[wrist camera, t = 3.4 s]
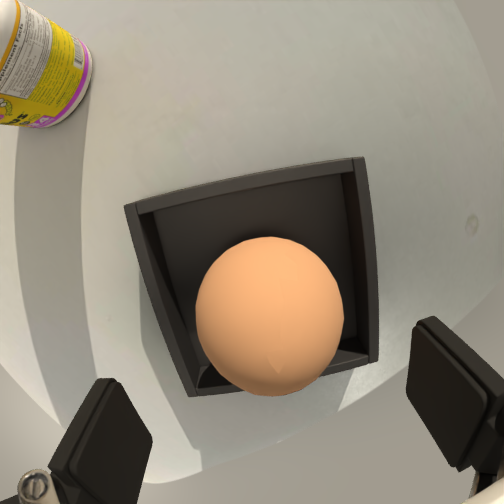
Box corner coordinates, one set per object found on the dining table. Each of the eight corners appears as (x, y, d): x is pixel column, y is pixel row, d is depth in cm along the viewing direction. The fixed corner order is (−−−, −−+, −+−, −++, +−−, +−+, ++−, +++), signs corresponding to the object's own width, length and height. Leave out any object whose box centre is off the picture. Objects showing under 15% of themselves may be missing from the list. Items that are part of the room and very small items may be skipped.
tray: (347, 157, 16) (364, 156, 14) (364, 339, 20) (378, 361, 17) (140, 199, 17) (122, 205, 14) (194, 372, 20) (188, 397, 17)
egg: (193, 309, 18) (159, 409, 10) (229, 206, 17) (210, 245, 8) (293, 340, 19) (319, 445, 10) (336, 247, 17) (409, 314, 9)
